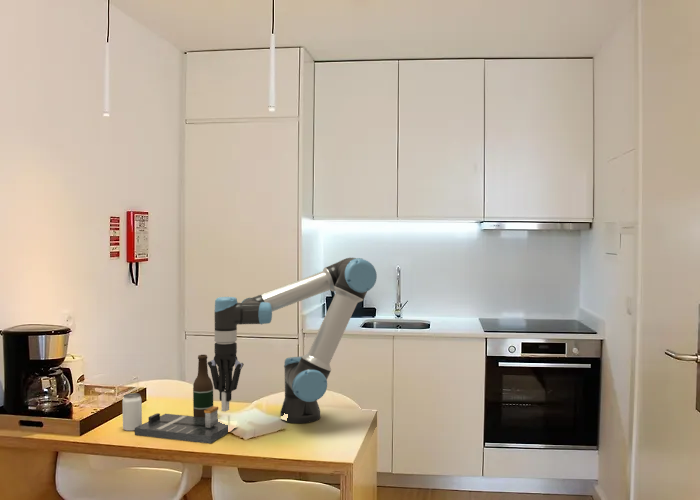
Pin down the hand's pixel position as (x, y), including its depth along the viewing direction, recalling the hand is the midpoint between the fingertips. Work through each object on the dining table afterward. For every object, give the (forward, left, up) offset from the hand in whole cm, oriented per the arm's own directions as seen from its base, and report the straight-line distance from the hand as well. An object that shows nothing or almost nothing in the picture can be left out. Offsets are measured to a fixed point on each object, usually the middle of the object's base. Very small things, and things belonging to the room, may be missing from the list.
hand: (225, 410), depth 215 cm
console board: (+16, 0, -9) cm, 18 cm away
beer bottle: (+18, -16, -9) cm, 26 cm away
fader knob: (+6, 0, -6) cm, 8 cm away
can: (+36, +3, -9) cm, 37 cm away
